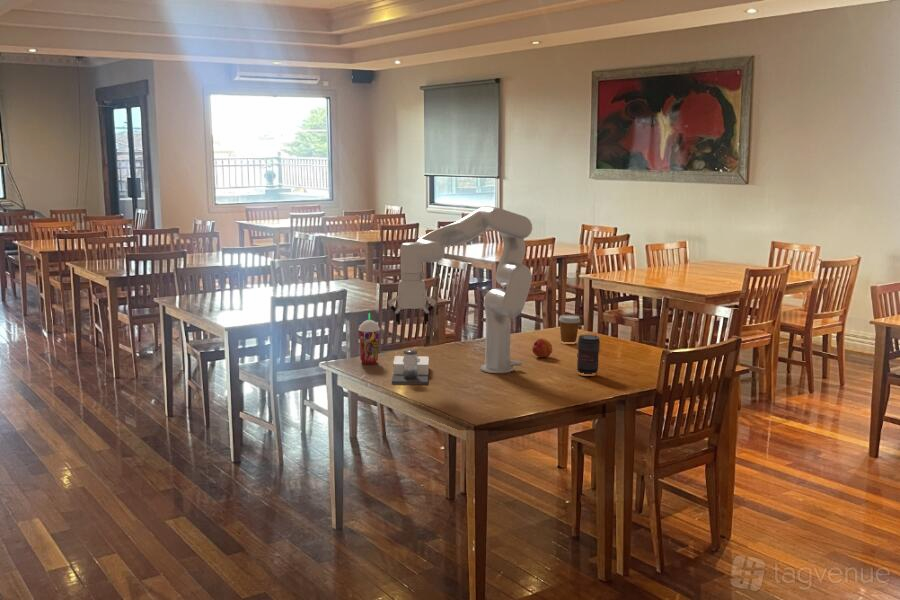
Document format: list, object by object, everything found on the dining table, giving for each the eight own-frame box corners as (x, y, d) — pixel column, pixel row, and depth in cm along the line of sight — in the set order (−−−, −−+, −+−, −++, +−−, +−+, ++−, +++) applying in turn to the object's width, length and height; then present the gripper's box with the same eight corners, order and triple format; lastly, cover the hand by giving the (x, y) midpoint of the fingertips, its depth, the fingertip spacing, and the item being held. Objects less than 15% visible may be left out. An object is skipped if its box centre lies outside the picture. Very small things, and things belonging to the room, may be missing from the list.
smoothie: (376, 366, 341) (376, 315, 338) (355, 364, 343) (355, 314, 339) (382, 361, 349) (382, 311, 346) (362, 359, 351) (362, 310, 347)
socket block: (428, 367, 340) (428, 356, 339) (428, 376, 327) (428, 364, 326) (394, 367, 340) (395, 356, 339) (393, 375, 327) (393, 364, 326)
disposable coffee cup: (573, 346, 382) (574, 319, 380) (554, 343, 387) (555, 316, 385) (582, 342, 390) (584, 316, 388) (563, 340, 395) (564, 313, 393)
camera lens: (580, 378, 329) (582, 339, 326) (573, 372, 337) (575, 334, 334) (600, 377, 330) (602, 338, 327) (594, 372, 338) (595, 334, 335)
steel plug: (417, 376, 323) (417, 349, 321) (417, 379, 318) (417, 352, 316) (404, 376, 323) (404, 349, 321) (403, 379, 318) (403, 352, 316)
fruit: (532, 354, 365) (533, 336, 364) (552, 355, 364) (553, 337, 363) (531, 359, 357) (532, 340, 356) (551, 360, 356) (552, 341, 355)
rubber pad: (428, 377, 325) (428, 374, 325) (427, 384, 316) (427, 381, 315) (393, 376, 325) (393, 374, 325) (391, 383, 315) (391, 381, 315)
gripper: (435, 275, 318) (436, 321, 321) (387, 275, 318) (388, 321, 321) (435, 278, 310) (436, 325, 314) (386, 278, 310) (387, 326, 313)
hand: (412, 323), depth 317 cm, fingers open, 9 cm apart
